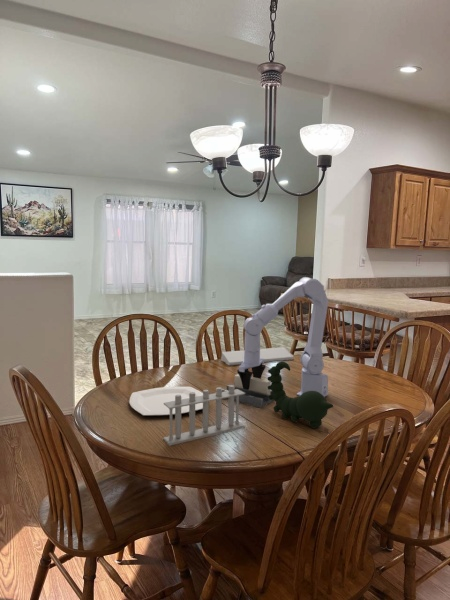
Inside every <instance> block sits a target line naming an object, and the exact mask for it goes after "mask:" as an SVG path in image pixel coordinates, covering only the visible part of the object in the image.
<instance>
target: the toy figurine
mask: <svg viewBox="0 0 450 600" xmlns="http://www.w3.org/2000/svg"><path fill="white" fill-rule="evenodd" d="M283 369H286V370H288V371H289V372H290V371H291V367H290V365H289V363H287V362H285V361H278V362H276V365H275V366H272V367H271V368H270V369H269V368H268V371H267V372H268V373H269V374H270V376H268V377H267V380H269V381H271V386H268V390H272V395H269V399H270V400H274V401H275V406H273V411H274V412H275V413H278V412H280V411H281V418H282V419H283V420H287V419H288V418H290V420H291V421H292V422H293V423H297V422H299V420H302V419H303V420H304V421H306V422H309V426H310V428H312V429H318V428H319V427H321V426H322V424H323V421H322V420H324V419H325V417H326V416H327V415H328V411H329V410H330V409H332V408H333V407H334V404H332V403H330V402H328V401H327V399H326V396H325V397H324V396H323V395H322V394H321V393H319V392H317V391H306V392H304V393H303V394H301V395H300V396H295V397H292V396H291V397H289V396H288V395H287V394H286V391H285V390H284V384H283V382H282V380H283V379H282V378H283V377H282V375H281V370H283ZM274 401H273V402H274Z"/></svg>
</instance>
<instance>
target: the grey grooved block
mask: <svg viewBox="0 0 450 600" xmlns="http://www.w3.org/2000/svg"><path fill="white" fill-rule="evenodd" d="M234 384H235V381H234V382H233V385H234ZM229 385H230V384H228V385H226V389H225V388H222V392H224V391H229ZM234 387H235V386H234ZM235 389H238V390H240V391H242V392H244V393H245V394H244V395H239V404H240V403H241V404H243V405H248V406H252V407H256V408H259V409H262V408H264V407H265V406H267V405H269V404H270V403H273V402H274V400H270V399H269V395H268V394H264V393H260V392H256V391H252V390H246V389H243V388H239V387H235V388H234V390H235ZM270 395H272V390H270ZM224 400H228V401H229V398H224ZM234 402H236V396H234Z"/></svg>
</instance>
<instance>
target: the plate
mask: <svg viewBox="0 0 450 600" xmlns="http://www.w3.org/2000/svg"><path fill="white" fill-rule="evenodd" d="M190 392H195V397H198V396H203V391H200V390H198V389H196V388H194V387H192V386H164V387H163V386H161V387H155V388H149V389H142V390H139V391H134V392H132V393H131V395H130V397H129V400H128V401H129V405H130V407H131V409H133V410H134V411H136V412H137V413H139V414H140V415H141V416H144V417H146V416H147V417H154V416H155V417H156V416H170V410H169V408H168V407H166V406H165V405H164V403H166V402H171V401H175V395H181V397H182V398H181V400H182V399H187V398H189V394H190ZM200 410H203V403H198V404H195V412H197V411H200ZM182 414H189V405H188V406H183V407H181V415H182ZM173 415H174V416H175V408H173V410H172V416H173Z"/></svg>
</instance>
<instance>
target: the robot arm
mask: <svg viewBox="0 0 450 600" xmlns="http://www.w3.org/2000/svg"><path fill="white" fill-rule="evenodd" d="M303 297H307V298H308V300H310V301H311V303H312V311H311V317H310V324H309V331H308V337H307V344H306V346H305V347H304V349H303V353H302V354H301V355H300V364H301V365H302V368H301V374H300V375H301V377H300V378H301V379H300V391H299V392H297V393H296V396H298V397H300V395H301V394H303V393H304V392H306V391H317V392H319V393H321V394H322V395H323V396H324V397H325V398H326V397H327V396H329V393H328V390H329V388H328V387H329V377H328V374H326V373H323V372H322V371H323V370H324V366H325V364H324V360H323V356H324V353H323V351H322V345H323V344H322V343H323V338H324V331H325V327H326V326H325V325H326V321H327V320H326V317H327V311H328V306H329V299H328V295H327V294H326V291H325V286H324V285H323V284H322V283H321V282H320V281H319V280H318V279H316V278H310V277H308V276H303V277H301V278H300V279H299V281H295V282H294V283H293V284H292V285H291V286H290V287H289V288H288V289H286V291H285V292H284V293H283V294H281V295H280V296H279V297H278V298H277V299H276V300H275V301H274V302H272V303H265V304H262V305H261V308H260V309H259V310H258V311H256V313H252V314H251V317H248V318H246V319H245V321H244V322H243V329H244V330H245V331H244V347H243V348H244V349H243V350H244V360H243V361H242V364H241V365H239V366H238V369H237V370H236V371H237V374H239V376H240V378H241V382H242V386H243V389H246V390H249V387H250V379H251V377H255V378H260V379H262V376H263V373H264V371H265V370H266V364H265V362H264V359H263V358H260V349H261V333H262V331H263V328H264V327H266V326H267V325H268V324H269V323H270V322H272V321H273V320H274V319H275V318H276V317H278V315H279V314H278V313H279V311H280V310H281V309H283V308H284V307H285V306H286V305H287V304H289V303H290V302H292V301H293V300H294V299H295V298H303ZM264 364H265V365H264ZM250 369H251V371H250Z"/></svg>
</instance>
